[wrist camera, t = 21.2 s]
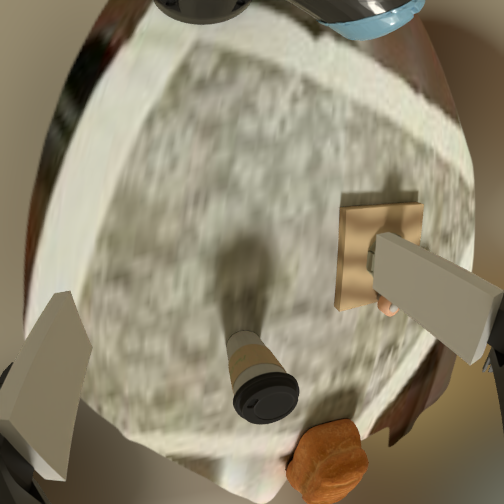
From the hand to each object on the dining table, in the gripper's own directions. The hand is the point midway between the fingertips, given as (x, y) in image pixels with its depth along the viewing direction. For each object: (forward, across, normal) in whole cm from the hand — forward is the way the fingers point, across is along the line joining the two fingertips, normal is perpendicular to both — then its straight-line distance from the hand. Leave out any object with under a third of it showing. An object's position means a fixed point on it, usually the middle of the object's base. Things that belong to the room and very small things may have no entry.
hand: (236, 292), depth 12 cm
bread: (+30, +21, -72) cm, 80 cm away
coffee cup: (+31, +5, -27) cm, 41 cm away
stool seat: (+31, +31, -15) cm, 46 cm away
